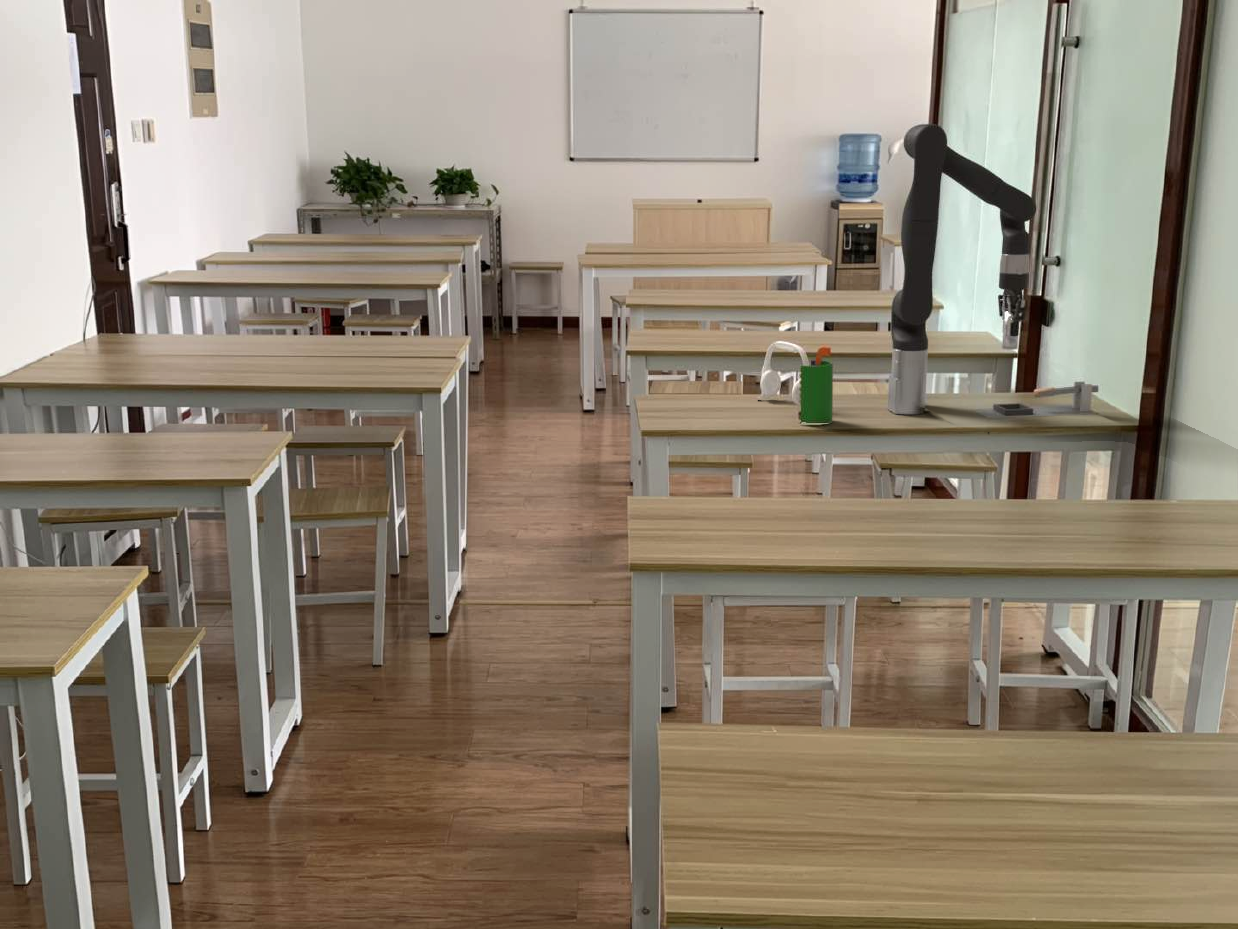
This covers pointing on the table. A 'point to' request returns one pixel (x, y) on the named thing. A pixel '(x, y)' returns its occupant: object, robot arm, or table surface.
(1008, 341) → the translucent white cylinder
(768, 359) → the headset
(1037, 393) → the lever
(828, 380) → the green cup with straw
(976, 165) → the robot arm
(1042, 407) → the grey flat base
